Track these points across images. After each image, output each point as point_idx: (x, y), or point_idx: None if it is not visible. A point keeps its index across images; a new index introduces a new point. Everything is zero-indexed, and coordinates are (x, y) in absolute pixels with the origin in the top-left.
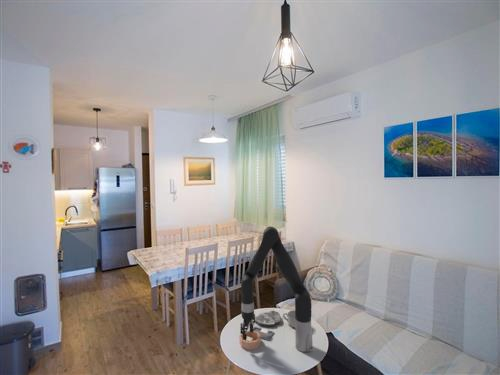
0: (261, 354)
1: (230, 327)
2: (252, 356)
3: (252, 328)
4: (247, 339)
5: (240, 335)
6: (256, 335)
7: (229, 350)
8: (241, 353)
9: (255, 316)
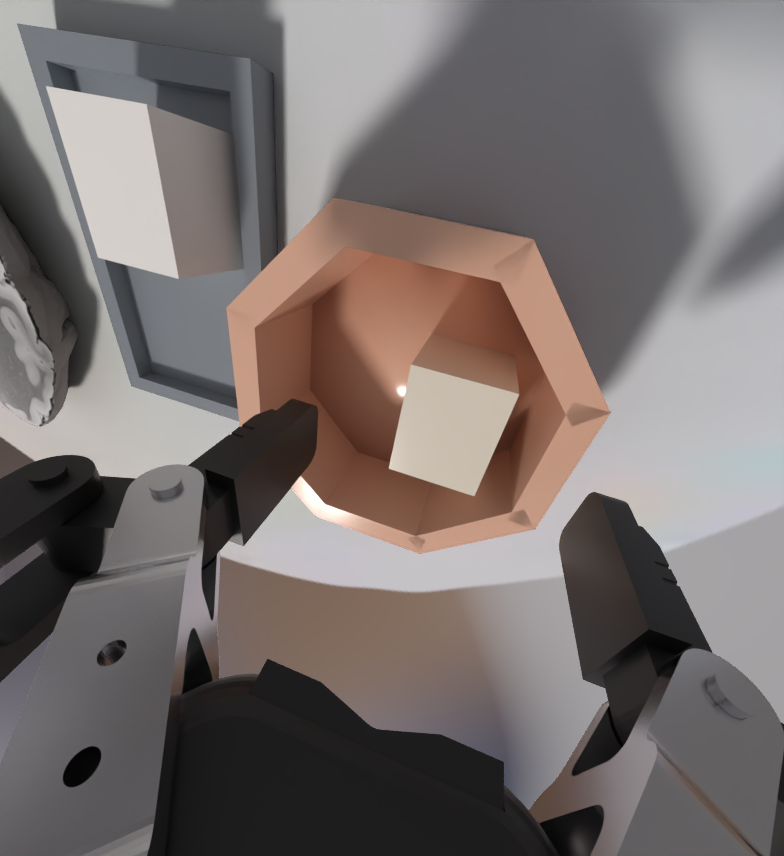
0: (718, 62)
1: (258, 558)
2: (762, 260)
3: (268, 455)
4: (472, 444)
5: (407, 541)
6: (283, 319)
7: None
8: (645, 442)
9: (10, 410)
